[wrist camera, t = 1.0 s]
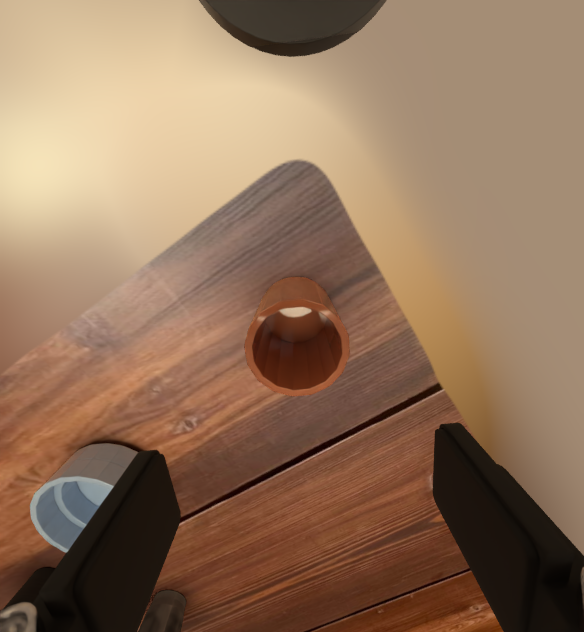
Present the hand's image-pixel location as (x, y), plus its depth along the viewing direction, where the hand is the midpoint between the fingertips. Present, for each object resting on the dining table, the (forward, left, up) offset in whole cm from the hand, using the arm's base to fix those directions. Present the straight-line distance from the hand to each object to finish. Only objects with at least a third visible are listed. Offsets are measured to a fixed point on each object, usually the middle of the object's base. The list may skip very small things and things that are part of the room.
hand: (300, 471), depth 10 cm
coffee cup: (0, 0, -18) cm, 18 cm away
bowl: (+18, -23, -18) cm, 34 cm away
